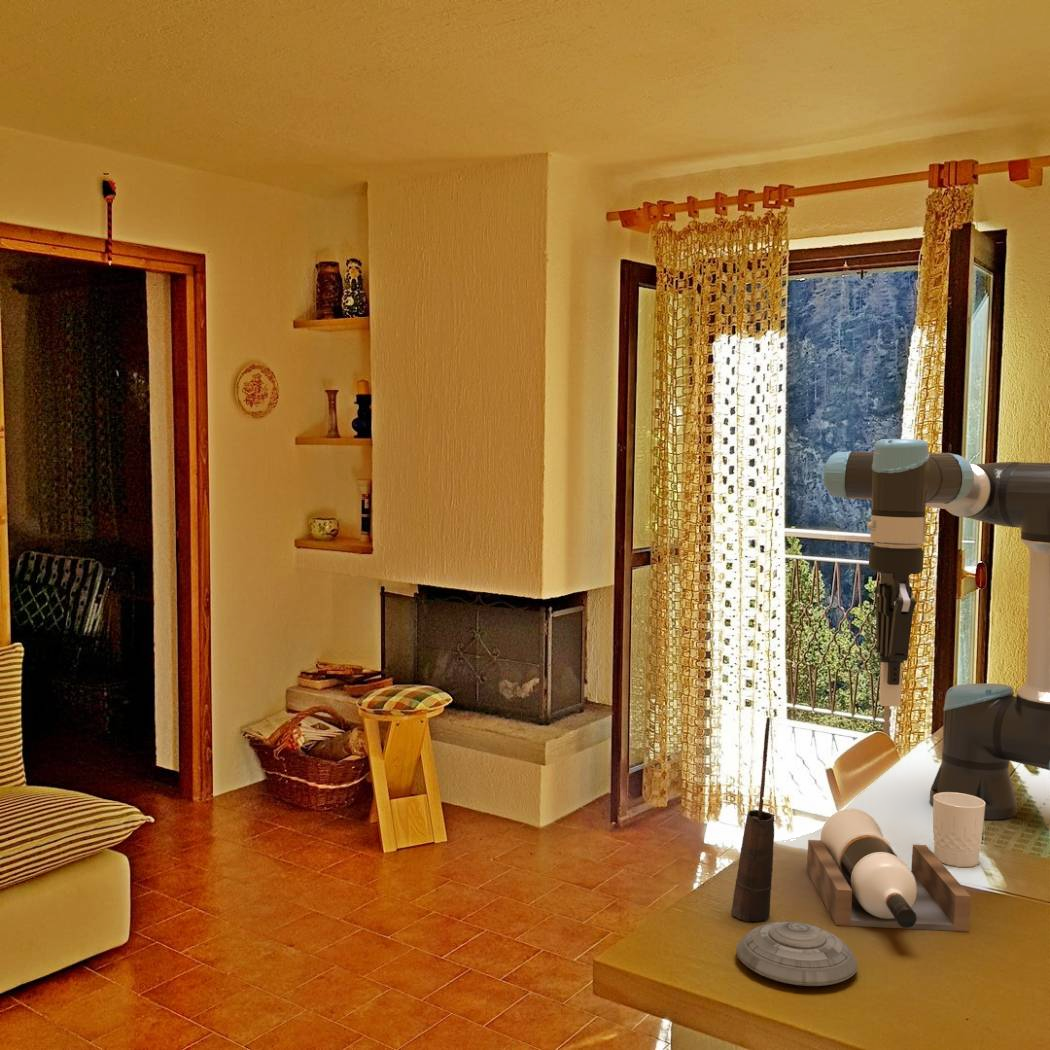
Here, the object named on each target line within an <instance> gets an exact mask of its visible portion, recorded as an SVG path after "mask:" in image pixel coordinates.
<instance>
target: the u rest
mask: <svg viewBox="0 0 1050 1050" xmlns="http://www.w3.org/2000/svg"><path fill="white" fill-rule="evenodd" d="M806 860H807V861H806V862H807V863H806V873H807V874H808V876H809V877H810V880H811V882H812V883H813V885H814V887H815V889H816V890H817V893H818V894H819V897H820V898H821V900H822V902H823V904H824V905H825V908H826V910H827V911H828V913H829V915H830V917H831V919H832V920H833V923H834V924H835V926H843V927H844V926H847V927H865V928H868V927H869V928H889V929H904V930H905V929H909V930H910V929H911V930H927V931H928V930H930V931H946V932H947V931H949V932H950V931H951V932H966V933H967V932H969V931H970V930H969V929H970V928H969V927H970V912H971V911H970V910H971V895H970V894H969V892H968V891H967V890H966V889H965V888H964V887H963V885H961V883H960V882H959V881H958V880H957V879H956V878H955V877H954V876H953V875H952V873H951V872H950V871H949V869H948V868H946V866H945V864H944V863H942V862H940V861H939V860H938V858H937V857H936V856H935V855H934V853H933V852H932V851H931V849H930V848H929V847H928V845H926V844H912V853H911V866H910V867H911V869H910V871H911V872H912V874H913V875H914V878H915V881H916V886H917V894H916V899H915V902H914V904H913V905H912V907H911V908H912V910H913V911H914V912H915V914H916V917H917V920H916V923H915V924H914V925H913V926H912V927H910V928H904V927H901V926H900V925H899V924H898V922H897V921H896V919H895V918H892V919H883V918H879V917H876V916H873V915H871V914H870V913H868V912H867V911H866V910H865V909H864V908H863V907H862V906H861V905H860V903H859V902H858V900H857V898H856V897H855V895H854V893H853V891H852V887H851V886H850V884H849V882H848V881H847V880H846V879H845V878H844V876H843V875H842V873H841V872H840V870H839V868H838V866H837V865H836V863H835V862H834V860H833V859H832V857H831V855H830V854H829V852H828V850H827V849H826V847H825V846H824V844H823V842H822V841H821V839H819V840H818V839H808V840H807V858H806Z"/></svg>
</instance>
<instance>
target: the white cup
mask: <svg viewBox="0 0 1050 1050" xmlns="http://www.w3.org/2000/svg"><path fill="white" fill-rule="evenodd" d="M985 804H986V803H985V801H984V800H982V799H980V798H978V797H975V796H972V795H968V794H963V793H954V792H942V793H937V794H935V795H934V796H933V805H932V816H933V817H932V831H933V839H932V840H933V845H934V851H933V852H934V853H933V854H934V855H935V856H936V857H937V858H938V860H939V861H940V862H941V863H942V864H943V865H948V866H951V867H952V866H953V867H955V868H956V867H958V868H970V867H972V868H973V867H975V866H977V865H978V864H979V861H980V860H979V859H980V849H981V847H982V841H983V840H982V839H983V832H984V831H983V830H984V823H985V819H984V814H985Z"/></svg>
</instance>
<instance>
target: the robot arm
mask: <svg viewBox="0 0 1050 1050" xmlns="http://www.w3.org/2000/svg"><path fill="white" fill-rule="evenodd" d="M873 450H874V451H854V450H849V451H837V452H834V453H833V454H831V455H830V456H829V457H828V459H827V460H826V463H825V465H824V466H823V467H824V468H823V484H824V487H825V489H826V490H827V492H828V493H829V494H830V495H831V496H833V497H835V498H844V499H846V500H850V499H853V500H867V501H871V509H870V510H871V511H870V519H871V521H868V522H866V527H867V528H869V529H870V532H869V533H870V534H869V535H870V536H869V537H870V538H869V539H870V540H869V541H871V542H872V543H873V545H871V546H870V547H869V550H868V551H869V552H868V568H869V569H868V570H870V571H871V572H873V573H877V574H879V573H880V574H881V575H880V576H881V577H880V583H878V584H877V586H876V587H874V590H873V592H874V598H875V614H876V615H875V617H876V619H875V621H876V622H875V623H876V652H877V653H879V662H880V672H879V673H880V674H879V675H880V676H879V694H878V697H879V698H878V704H879V705H880V706H881V707H901V704H902V703H901V700H902V679H903V678H902V677H903V675H902V674H903V663H904V662H907V661H908V658H909V650H910V641H911V635H912V634H911V633H912V625H913V624H912V623H913V617H914V612H915V608H916V605H917V601H916V598H915V597H913V588H912V586H911V585H910V584H911V583H910V576H911V575H918V574H921V573H922V572H923V570H924V551H925V550H924V549H923V548H922V547H921V545H923V544H924V543H925V542H926V538H925V537H926V519H927V517H926V508H934V509H935V508H936V509H943V510H945V511H946V512H948V513H949V514H950V515H953V516H956V517H960V518H966V519H971V520H975V521H979V522H983V523H987V524H992V525H995V526H1001V527H1008V528H1019V529H1020V541H1021V542H1022V543H1023V544H1025V546H1026V547H1028V549H1029V575H1028V602H1027V603H1028V605H1027V606H1028V608H1027V609H1028V610H1027V612H1028V613H1027V640H1026V641H1027V643H1026V648H1027V649H1026V673H1025V674H1026V678H1025V679H1026V680H1025V683H1024V684H1023V685H1022V686H1020V688H1018V689H1017V690H1016V696H1015V695H1014V694H1015V691H1014V688H1013V686H1011V685H1007V684H1004V683H1003V684H1002V683H964V684H957V685H954V686H951V687H950V688H949V689H948V690H947V691H946V693H945V699H944V706H943V726H942V727H943V728H942V729H943V730H942V746H941V747H942V748H941V749H942V751H941V752H942V753H941V763H940V765H939V768H938V770H937V772H936V775H935V776H934V777H935V778H934V780H933V782H932V784H931V787H930V791H929V792H930V793H929V803H930V805H931V806H933V796H934V795H935V794H937V793H942V792H954V793H963V794H968V795H972V796H975V797H978V798H980V799H982V800H984V801H985V803H986V804H985V814H984V820H990V821H991V820H1005V819H1010V818H1013V817H1014V816H1016V815H1017V812H1018V810H1017V809H1018V800H1017V796H1016V792H1015V788H1014V786H1013V782H1012V778H1011V775H1010V771H1009V770H1010V767H1009V766H1010V762H1014V763H1017V764H1020V765H1021V764H1023V765H1027V766H1030V767H1035V768H1039V769H1043V770H1047V771H1050V462H1025V461H1024V462H1022V461H1021V462H1019V461H1005V462H1004V461H1003V462H990V463H989V462H988V463H971V462H969V461H968V460H967V459H966V458H965V457H964V456H961V455H959V454H954V453H950V452H936V453H935V452H933V453H932V452H931V453H930V452H929V445H928V443H927V442H926V440H924V439H913V438H912V439H908V438H892V439H891V438H883V439H879V440H877V442H875V444H874V449H873Z"/></svg>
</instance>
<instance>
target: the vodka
mask: <svg viewBox="0 0 1050 1050" xmlns="http://www.w3.org/2000/svg"><path fill="white" fill-rule="evenodd" d="M820 832H821V833H820V840H821V841H822V842H823V844H824V846H825V847H826V849H827V850H828V852H829V854H830V855H831V857H832V859H833V860H834V862H835V863H836V865H837V867H838V868H839V870H840V872H841V873H842V875H843V876H844V878H845V879H846V880H847V881H848V882H849V884H850V886H851V887H852V891H853V893H854V895H855V897H856V898H857V900H858V902H859V903H860V905H861V906H862V907H863V908H864V909H865V910H866V911H867V912H868V913H870V914H871V915H873V916H876V917H879V918H883V919H892V918H895V919H896V921H897V922H898V924H899V925H900V926H901V927H904V928H903V929H905V928H910V927H912V926H913V925H914V924H915V923H916V920H917V917H916V914H915V912H914V911H913V910H912V908H911V907H912V905H913V904H914V902H915V899H916V894H917V886H916V881H915V878H914V875H913V874H912V872H911V869H909V867H908V866H907V864H906V863H905V862H904V861H903V860H902V859H901V858H900V857H899V856H898V855H897V854H896V853H895V851H894V850H893V847H892V846H891V844H890V842H889V841H888V840H887V839H886V838H884V837H883V832H882V830H881V828H880V826H879V824H878V823H877V821H876V820H875V818H874V817H873V816H871V815H870V814H868V813H867V812H865V811H863V810H860V809H856V808H855V809H854V808H847V809H842V810H839V811H837V812H835V813H834V814H832V815H830V817H828V819H827V820H826V821H825V822H824V824H823V827H822V829H821V831H820Z"/></svg>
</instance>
